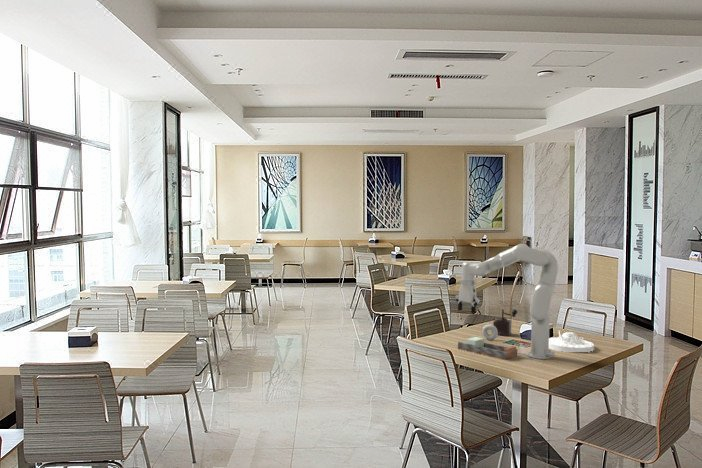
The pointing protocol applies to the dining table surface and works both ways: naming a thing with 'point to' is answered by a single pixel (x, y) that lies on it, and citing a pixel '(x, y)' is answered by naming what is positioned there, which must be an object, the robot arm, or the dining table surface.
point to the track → (490, 350)
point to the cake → (570, 343)
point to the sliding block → (476, 341)
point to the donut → (488, 336)
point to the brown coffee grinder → (504, 324)
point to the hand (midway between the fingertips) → (466, 311)
